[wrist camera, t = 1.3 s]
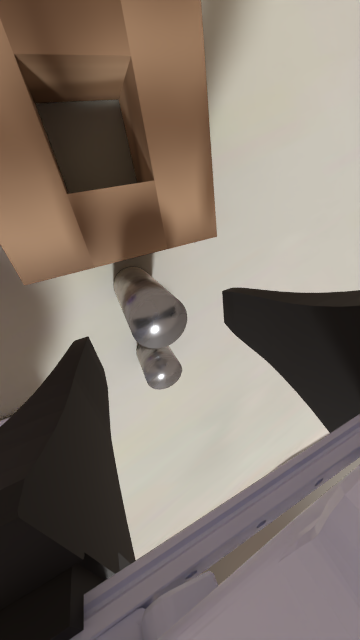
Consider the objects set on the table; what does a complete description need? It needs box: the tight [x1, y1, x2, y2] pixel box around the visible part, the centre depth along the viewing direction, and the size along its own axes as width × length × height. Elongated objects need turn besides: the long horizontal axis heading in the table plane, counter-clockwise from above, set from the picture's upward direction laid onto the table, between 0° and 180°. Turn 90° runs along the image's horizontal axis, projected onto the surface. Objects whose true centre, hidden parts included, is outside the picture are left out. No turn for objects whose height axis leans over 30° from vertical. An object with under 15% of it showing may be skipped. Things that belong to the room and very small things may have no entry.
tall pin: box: [114, 267, 187, 348], centre depth 14 cm, size 3×3×8 cm
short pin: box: [136, 344, 182, 389], centre depth 19 cm, size 3×3×4 cm
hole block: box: [0, 0, 217, 285], centre depth 11 cm, size 12×12×4 cm
